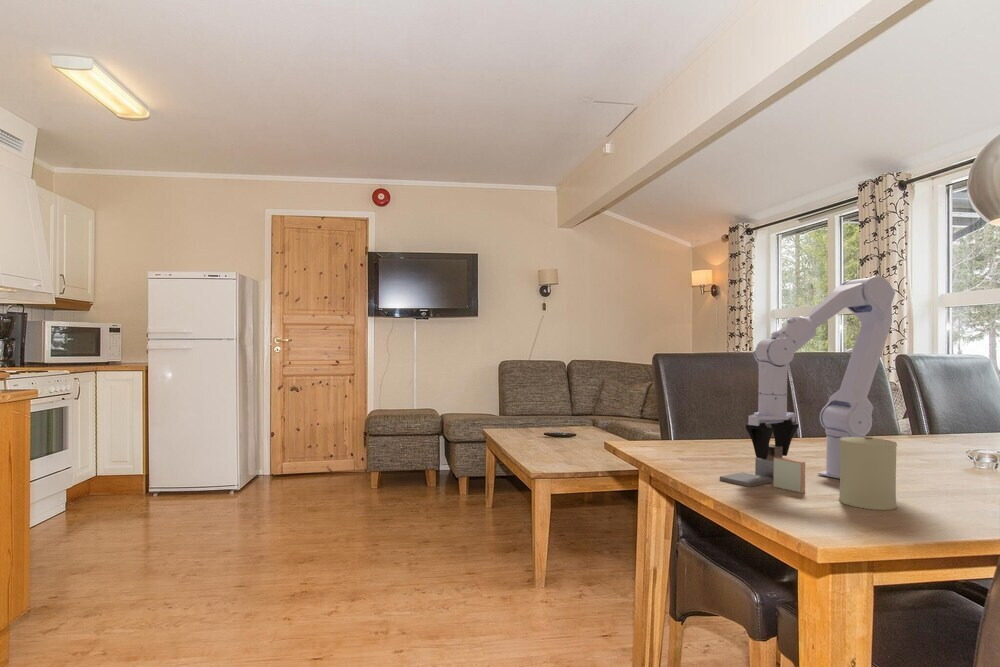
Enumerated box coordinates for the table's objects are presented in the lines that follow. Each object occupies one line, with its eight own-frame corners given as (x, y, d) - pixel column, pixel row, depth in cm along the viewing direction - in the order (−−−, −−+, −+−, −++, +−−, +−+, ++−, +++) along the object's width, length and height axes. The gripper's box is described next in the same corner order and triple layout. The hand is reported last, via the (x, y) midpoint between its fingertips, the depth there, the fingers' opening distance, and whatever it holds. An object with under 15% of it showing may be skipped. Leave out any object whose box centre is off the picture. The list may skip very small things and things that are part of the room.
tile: (776, 486, 128) (776, 456, 129) (805, 492, 124) (805, 461, 124) (772, 487, 128) (773, 457, 128) (801, 493, 123) (801, 462, 123)
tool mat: (742, 475, 138) (742, 472, 138) (772, 482, 132) (772, 478, 132) (719, 480, 133) (719, 476, 133) (749, 486, 127) (749, 483, 127)
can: (895, 501, 117) (896, 437, 117) (897, 513, 109) (898, 444, 109) (839, 494, 122) (840, 432, 122) (837, 505, 114) (838, 439, 114)
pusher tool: (763, 474, 140) (763, 443, 140) (788, 479, 135) (789, 447, 135) (755, 476, 138) (755, 444, 138) (780, 481, 133) (781, 448, 133)
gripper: (774, 391, 144) (773, 450, 144) (736, 393, 136) (735, 456, 135) (804, 394, 138) (803, 455, 138) (766, 396, 130) (765, 462, 130)
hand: (771, 456), depth 136 cm, fingers open, 7 cm apart
